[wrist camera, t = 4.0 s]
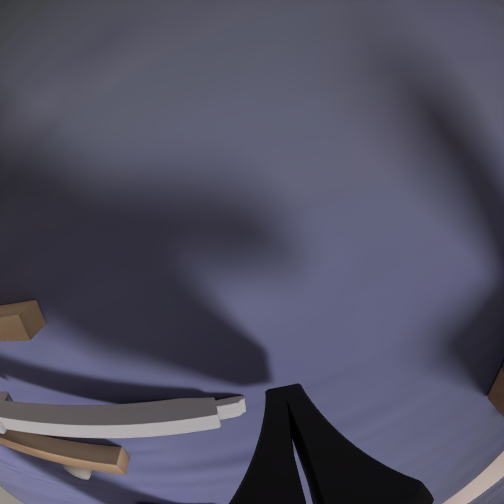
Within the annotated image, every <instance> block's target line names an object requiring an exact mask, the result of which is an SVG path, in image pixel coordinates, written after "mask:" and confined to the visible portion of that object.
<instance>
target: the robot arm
mask: <svg viewBox="0 0 504 504" xmlns="http://www.w3.org/2000/svg"><path fill="white" fill-rule="evenodd" d="M265 394H266V403H265V412H264V419H263V423H262V428H261V433H260V436H259V440H258V443H257V446H256V449H255V452H254V455H253V458H252V460H251V463H250V465H249V468H248V470H247V472H246V474H245V476H244V478H243V480H242V482H241V484H240V486H239V488H238V490H237V491H236V493H235V495H234V496H233V498H232V499H231V501H230V503H229V504H306V500H305V497H304V493H303V489H302V485H301V481H300V477H299V473H298V469H297V465H296V461H295V457H294V450H293V442H294V445H295V448H296V451H297V454H298V456H299V459H300V462H301V465H302V468H303V470H304V473H305V476H306V479H307V482H308V486H309V490H310V494H311V498H312V502H313V504H432V503H433V501H434V499H433V497H432V495H431V493H430V492H429V490H428V489H427V488H426V487H425V485H424V484H423V483H422V482H421V481H419V480H417V479H414V478H411V477H409V476H406V475H404V474H402V473H400V472H397V471H395V470H393V469H391V468H389V467H387V466H385V465H384V464H382V463H380V462H379V461H377V460H375V459H374V458H372V457H370V456H369V455H367V454H366V453H364V452H363V451H362V450H360V449H359V448H357V447H356V446H355V445H354V444H352V443H351V442H350V441H349V440H347V439H346V438H345V437H344V436H343V435H342V434H341V433H339V432H338V431H337V430H336V429H335V428H334V427H333V426H332V425H331V424H330V423H329V422H328V421H327V419H326V418H325V417H324V416H323V415H322V414H321V413H320V412H319V410H318V409H317V408H316V407H315V405H314V404H313V403H312V401H311V400H310V399H309V397H308V396H307V394H306V393H305V391H304V390H303V388H302V386H301V385H300V384H293V385H288V386H283V387H278V388H273V389H268V390H267V391H266V392H265ZM292 439H293V442H292ZM468 504H504V477H503V478H502V479H500V480H499V481H498V482H497V483H495V484H494V485H493V486H492V487H490V488H489V489H488V490H486V491H485V492H484V493H482V494H481V495H480V496H478V497H477V498H476V499H474V500H473V501H471V502H470V503H468Z"/></svg>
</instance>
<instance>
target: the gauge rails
mask: <svg viewBox="0 0 504 504" xmlns="http://www.w3.org/2000/svg"><path fill="white" fill-rule="evenodd" d="M45 324H46V322H45V320H44V317H43V315H42V313H41V310H40V308H39V306H38V303H37V301H36V300H32V301H26V302H20V303H13V304H7V305H1V306H0V341H21V340H31V339H32V338H33V337H34V336H35V335H36V333H37V332H38V331H39V330H40V329H41V328H42V327H43V326H44V325H45ZM0 444H2V445H4V446H7V447H9V448H12V449H15V450H18V451H20V452H23V453H26V454H29V455H33V456H36V457H39V458H42V459H46V460H49V461H53V462H57V463H61V464H63V467H64V468H65V469H66V470H67V471H68V472H69V473H71V474H72V475H74V476H76V477H79V478H81V479H86V480H88V479H90V476H91V473H92V470H95V471H101V472H107V473H114V474H122V475H126V472H127V467H128V463H129V459H130V457H129V455H128V454H127V453H126V452H125V451H124V449H123V448H122V447H115V446H105V445H96V444H88V443H81V442H74V441H68V440H63V439H57V438H52V437H48V436H43V435H39V434H34V433H27V432H21V431H15V430H9V429H7V430H6V432H5V433H4V434H2V433H0Z"/></svg>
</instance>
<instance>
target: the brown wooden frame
mask: <svg viewBox="0 0 504 504" xmlns="http://www.w3.org/2000/svg"><path fill="white" fill-rule="evenodd" d="M488 399H489V400H490V402H491V403H492V404H493V405H494V406H495V407H496V408H497V409H498V411H499V412H500V413H501V414H502V415H503V416H504V362H503V366H502V367H501V368H500V370H499V373H498V375H497V377H496V379H495V381H494V384H493V386H492V388H491V390H490V392H489V394H488Z"/></svg>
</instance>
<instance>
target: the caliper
mask: <svg viewBox="0 0 504 504" xmlns="http://www.w3.org/2000/svg"><path fill="white" fill-rule="evenodd" d="M245 412H246V406H245V398H244V396H236V397H230V398H226V399H221V400H216V401H215V398H214V397H213V398H179V399H171V400H163V401H153V402H143V403H130V404H113V405H50V404H34V403H22V402H13V400H12V398H11V397H10V395H9V394H8V392H0V433H2V434H4V433H5V432H6V430H7V429H9V430H15V431H21V432H27V433H34V434H42V435H52V436H63V437H79V438H135V437H151V436H163V435H173V434H181V433H189V432H196V431H203V430H209V429H215V428H221V423H220V420H221V419H227V418H232V417H237V416H241V414H242V413H245Z"/></svg>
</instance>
